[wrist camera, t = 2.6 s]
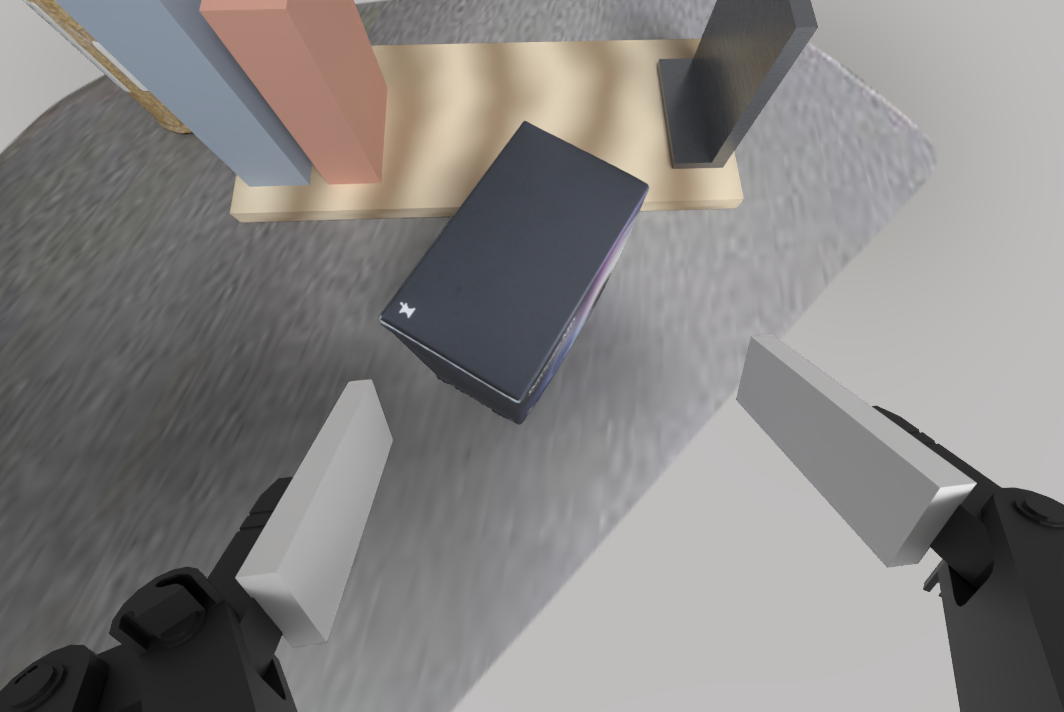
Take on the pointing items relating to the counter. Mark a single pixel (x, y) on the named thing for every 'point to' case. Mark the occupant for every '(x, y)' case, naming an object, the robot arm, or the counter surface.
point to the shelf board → (505, 128)
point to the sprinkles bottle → (105, 61)
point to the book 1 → (197, 83)
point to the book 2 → (312, 77)
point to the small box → (517, 270)
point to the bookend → (730, 77)
